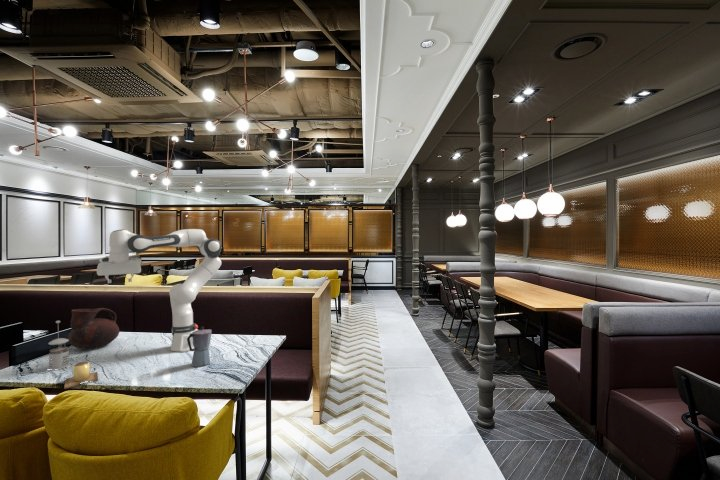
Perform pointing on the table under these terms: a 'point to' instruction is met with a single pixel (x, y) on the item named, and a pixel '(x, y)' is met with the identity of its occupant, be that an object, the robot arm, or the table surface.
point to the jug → (92, 329)
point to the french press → (59, 353)
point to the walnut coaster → (71, 383)
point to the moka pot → (200, 346)
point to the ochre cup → (81, 371)
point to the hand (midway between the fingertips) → (119, 282)
